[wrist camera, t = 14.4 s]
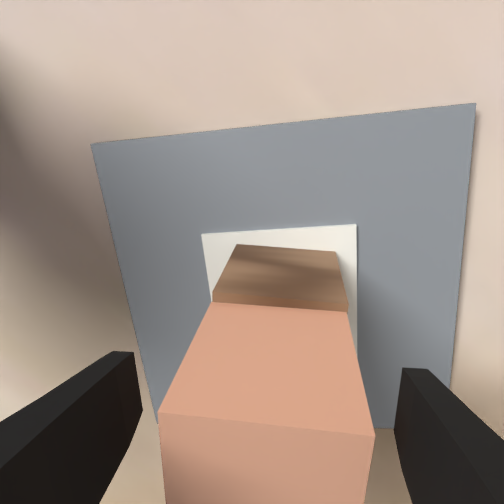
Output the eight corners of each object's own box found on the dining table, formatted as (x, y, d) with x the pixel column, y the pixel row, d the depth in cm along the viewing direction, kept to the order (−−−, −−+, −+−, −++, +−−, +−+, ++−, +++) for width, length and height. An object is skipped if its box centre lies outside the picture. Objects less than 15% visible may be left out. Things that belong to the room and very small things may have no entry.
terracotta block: (213, 406, 14) (170, 550, 9) (211, 301, 12) (157, 412, 8) (333, 419, 14) (350, 578, 9) (346, 312, 12) (375, 436, 7)
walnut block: (234, 327, 19) (212, 398, 14) (236, 243, 17) (212, 291, 12) (324, 337, 18) (332, 413, 13) (335, 251, 16) (348, 304, 12)
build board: (160, 416, 22) (155, 426, 22) (97, 142, 17) (88, 144, 16) (441, 420, 20) (446, 432, 19) (469, 103, 15) (478, 102, 14)
